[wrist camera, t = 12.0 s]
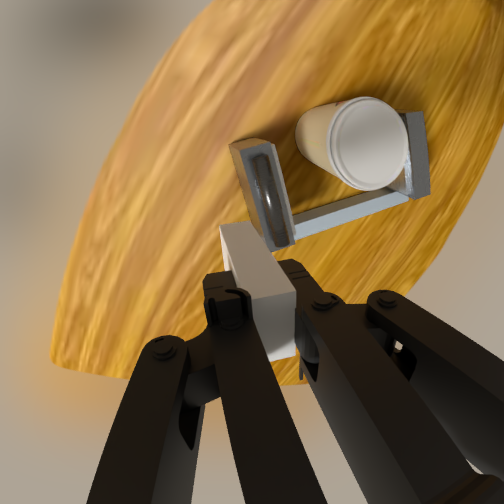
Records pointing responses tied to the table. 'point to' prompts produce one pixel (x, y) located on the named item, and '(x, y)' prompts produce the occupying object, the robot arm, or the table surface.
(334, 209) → the back rail
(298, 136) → the coffee cup
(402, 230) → the table surface
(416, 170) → the block
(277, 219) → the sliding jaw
